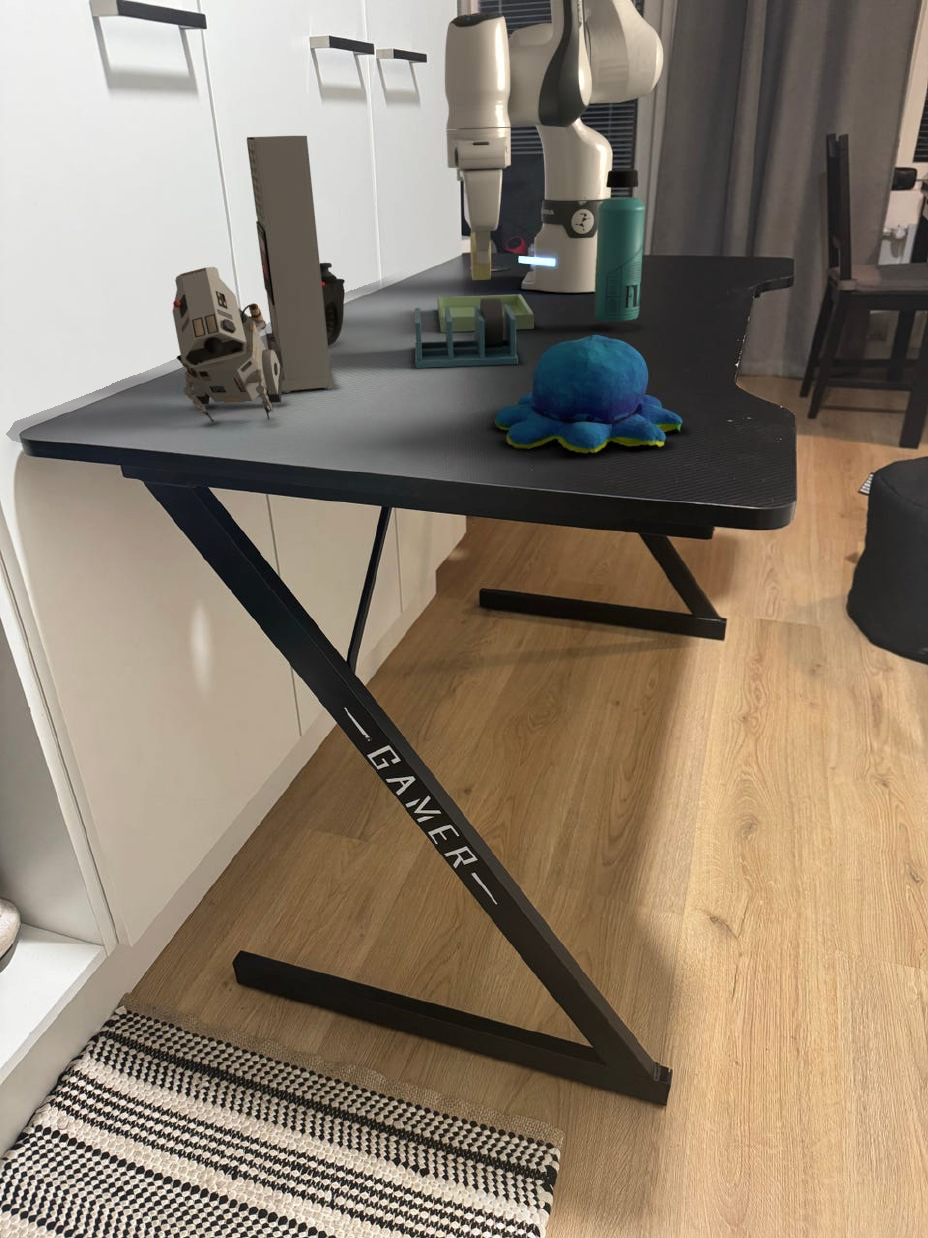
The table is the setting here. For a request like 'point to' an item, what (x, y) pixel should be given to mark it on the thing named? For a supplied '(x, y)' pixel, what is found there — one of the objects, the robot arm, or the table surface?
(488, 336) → the vinyl tape
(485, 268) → the masking tape
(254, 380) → the figurine
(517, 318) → the tray
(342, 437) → the table surface
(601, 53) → the robot arm
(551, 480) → the table surface
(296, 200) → the tall beige panel
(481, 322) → the tape rack
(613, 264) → the beverage bottle
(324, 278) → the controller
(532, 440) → the plush toy
